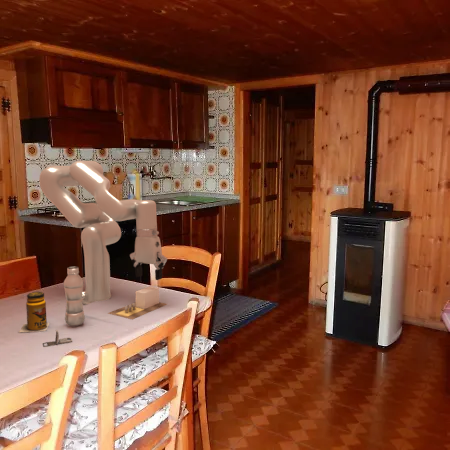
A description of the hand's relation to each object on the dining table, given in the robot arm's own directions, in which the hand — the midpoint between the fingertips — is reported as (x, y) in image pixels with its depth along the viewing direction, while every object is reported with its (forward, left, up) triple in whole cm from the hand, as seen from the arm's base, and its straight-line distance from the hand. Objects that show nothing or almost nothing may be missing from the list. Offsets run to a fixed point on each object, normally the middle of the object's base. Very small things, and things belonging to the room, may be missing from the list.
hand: (148, 277), depth 166 cm
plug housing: (-1, 0, -11) cm, 11 cm away
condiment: (-39, -11, -13) cm, 43 cm away
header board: (-4, -3, -12) cm, 13 cm away
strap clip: (-30, -26, -13) cm, 42 cm away
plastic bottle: (-26, -11, -13) cm, 31 cm away
